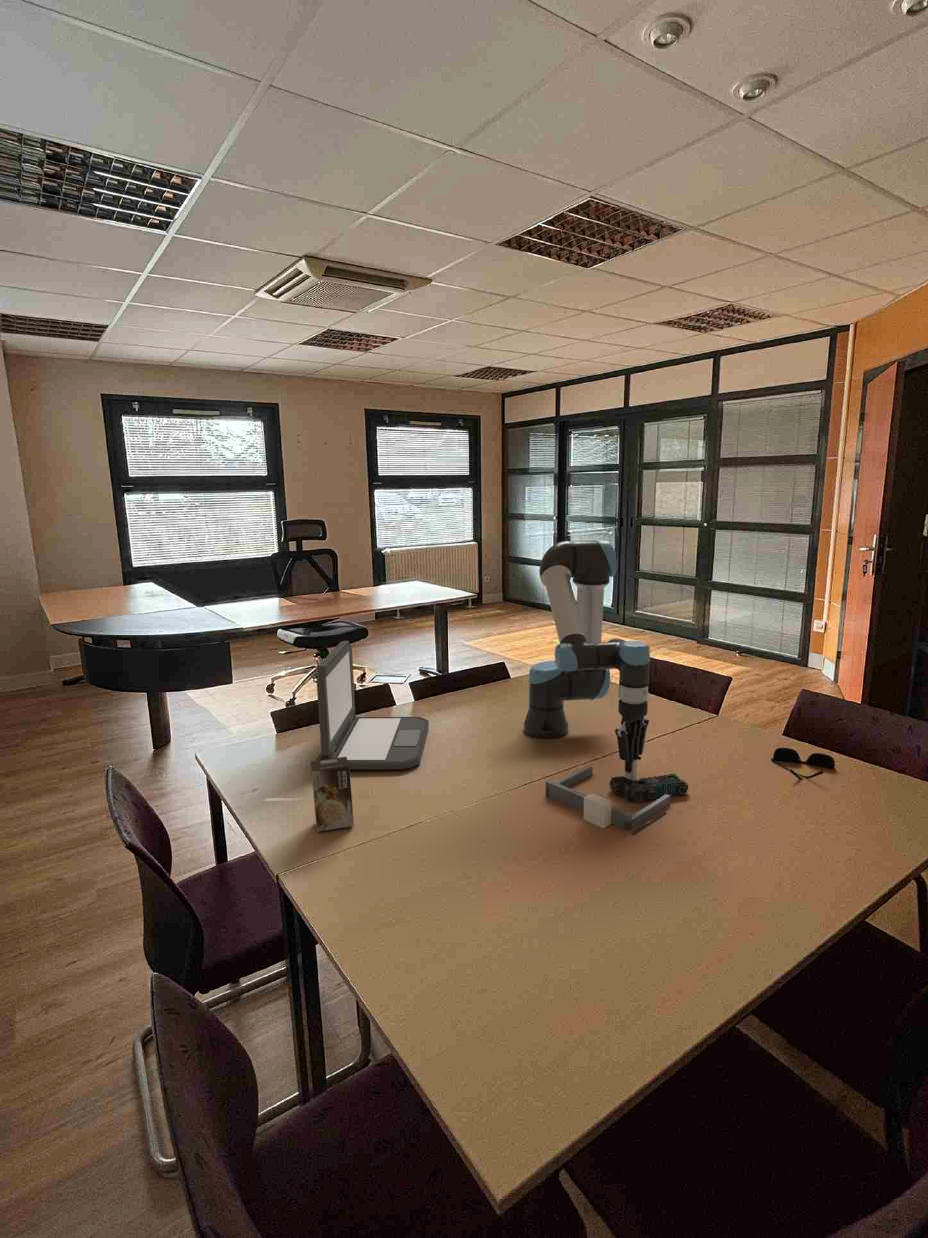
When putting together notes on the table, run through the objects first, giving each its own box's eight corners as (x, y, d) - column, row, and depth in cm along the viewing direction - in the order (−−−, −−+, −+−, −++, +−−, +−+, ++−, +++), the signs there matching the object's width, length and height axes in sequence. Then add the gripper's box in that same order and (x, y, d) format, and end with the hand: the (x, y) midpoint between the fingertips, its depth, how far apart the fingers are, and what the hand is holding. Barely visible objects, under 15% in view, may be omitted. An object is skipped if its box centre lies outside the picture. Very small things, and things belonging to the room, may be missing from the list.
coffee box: (351, 814, 161) (348, 755, 158) (354, 826, 155) (350, 766, 152) (315, 819, 159) (310, 760, 155) (316, 832, 153) (311, 771, 149)
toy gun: (607, 775, 170) (626, 791, 161) (669, 766, 175) (691, 782, 166) (607, 789, 171) (625, 806, 162) (669, 780, 176) (690, 796, 166)
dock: (538, 799, 167) (538, 778, 165) (589, 773, 181) (589, 753, 180) (628, 840, 146) (629, 816, 145) (677, 807, 161) (678, 785, 160)
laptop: (417, 772, 184) (414, 668, 178) (313, 772, 186) (306, 669, 179) (429, 724, 222) (426, 637, 216) (343, 724, 223) (337, 638, 217)
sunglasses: (769, 780, 175) (770, 763, 174) (770, 760, 188) (772, 744, 187) (838, 792, 168) (840, 774, 166) (836, 770, 180) (837, 754, 179)
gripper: (631, 709, 160) (628, 794, 165) (658, 697, 169) (655, 778, 174) (607, 702, 166) (604, 785, 171) (634, 691, 174) (631, 770, 179)
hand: (630, 781), depth 172 cm, fingers closed
